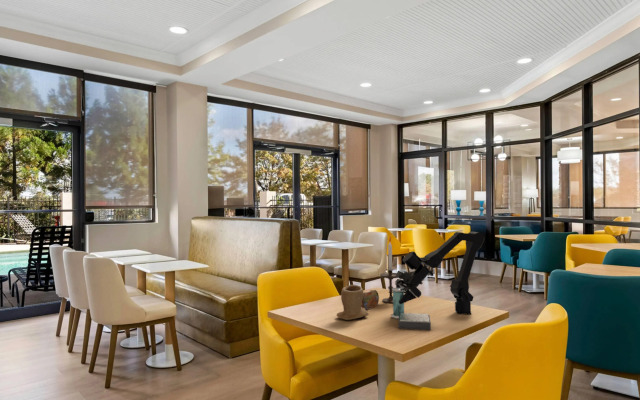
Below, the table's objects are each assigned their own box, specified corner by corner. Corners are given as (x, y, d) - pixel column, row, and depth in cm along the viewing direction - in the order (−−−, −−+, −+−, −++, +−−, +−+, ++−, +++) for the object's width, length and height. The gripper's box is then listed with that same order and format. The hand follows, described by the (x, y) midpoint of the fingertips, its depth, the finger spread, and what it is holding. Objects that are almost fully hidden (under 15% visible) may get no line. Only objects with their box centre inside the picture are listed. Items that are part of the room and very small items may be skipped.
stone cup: (347, 323, 183) (347, 289, 183) (333, 317, 193) (332, 285, 193) (375, 318, 190) (374, 285, 191) (360, 313, 201) (359, 281, 201)
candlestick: (404, 303, 220) (403, 236, 220) (385, 304, 217) (384, 237, 218) (396, 298, 230) (395, 235, 231) (377, 300, 228) (376, 235, 228)
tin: (364, 311, 204) (364, 294, 204) (359, 310, 206) (358, 293, 206) (379, 305, 216) (379, 288, 216) (374, 304, 218) (374, 288, 218)
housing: (406, 315, 195) (405, 287, 195) (406, 319, 188) (405, 290, 189) (391, 314, 196) (391, 287, 197) (390, 318, 190) (390, 290, 190)
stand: (429, 321, 184) (429, 313, 184) (430, 330, 171) (430, 321, 172) (399, 320, 187) (399, 312, 187) (398, 328, 174) (398, 320, 174)
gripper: (398, 262, 203) (377, 285, 201) (414, 267, 184) (391, 293, 182) (414, 277, 204) (393, 301, 202) (431, 284, 186) (408, 310, 183)
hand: (395, 301), depth 192 cm, fingers open, 9 cm apart
